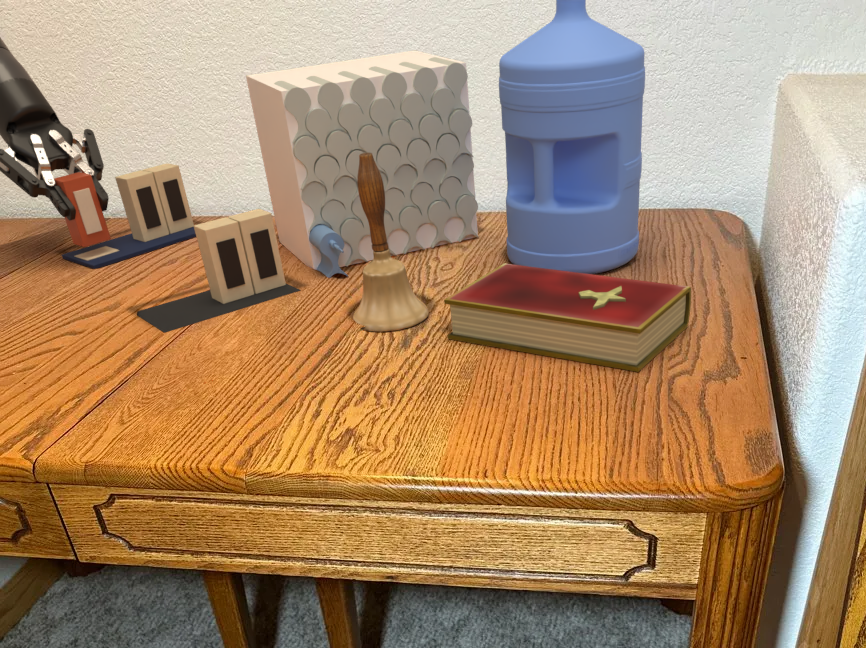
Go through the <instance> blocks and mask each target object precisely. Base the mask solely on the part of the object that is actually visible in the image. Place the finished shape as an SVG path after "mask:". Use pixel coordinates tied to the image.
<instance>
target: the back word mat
mask: <svg viewBox="0 0 866 648" xmlns="http://www.w3.org/2000/svg"><path fill="white" fill-rule="evenodd" d="M114 179H115V181H116V186H117V188H118V192H119V195H120V199H121V201H122V205H123V208H124V212H125V215H126V218H127V221H128V225H129V228H130V232H131V233H128V234H124V235H122V236H118V237H115V238H111V239H110V240H107V241H103V242H100V243H97V244H93V245H90V246H87V247H82V248H79V249H75V250H71V251H69V252H66V253H63V254H61V258H62V259H64V260H66V261H69V262H72V263H75V264H78V265H80V266H83V267H87V268H90V269H93V270H98V269H100V268H104V267H106V266H109V265H113V264H115V263H116V264H117V263H119V262H123V261H126V260H128V259H131V258H134V257H138V256H140V255H144V254H147V253H150V252H153V251H156V250H159V249H160V250H161V249H163V248H166V247H169V246H172V245H176V244H178V243H181V242H185V241H188V240H190V239H193V238H194V239H195V238H197V237H196V233H195V229H194V225H195V223H194V221H193V220H194V219H193V216H192V212H191V207H190V204H189V200H188V196H187V192H186V188H185V185H184V180H183V176H182V174H181V169H180V165H178V164H174V163H168V162H166V163H163V164H159V165H155V166H150V167H147V168H144V169H140V170H136V171H133V172H128V173H125V174H121V175H117V176H114Z"/></svg>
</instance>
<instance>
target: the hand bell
mask: <svg viewBox="0 0 866 648" xmlns="http://www.w3.org/2000/svg"><path fill="white" fill-rule="evenodd" d="M357 184H358V192H359V197H360V201H361V204H362V208H363V210H364V212H365V215H366V217H367V219H368V222H369V227H370V234H371V243H372V249H373V255H374V259H373V260H370V261H369V262H368V263H367V264H366V265H364V267H363V268H362V280H363V281H362V282H363V283H362V296H361V300H360V302H359V306H358V307H357V309H356V310H355V311H354V313H353V314H352V315H353V316H352V320H353V321H354V322H355V323H357V324H358V325H360V326H362V327H360V328H359V329H360V330H364V331H369V332H376V333H377V332H378V333H379V332H381V333H382V332H392V331H394V332H395V331H399V330H404V329H408V328H411V327H415V326H417V325H418V324H421V323H422V322H424V321H425V320H426V319H427V318H428V317H429V313H430V310H429V308H428V307H427V305H426V304H425V303H424V302H423V301H422V300H420V299H419V298H418V296H417V295H416V294H415V292H414V290H413V289H412V285H411V283H410V281H409V277H408V274H407V269H406V266H405V264H404V263H403V262H402V261H401V260H399V259H395V258H393V256H390V251H389V248H388V243H387V237H386V232H385V226H384V211H385V191H384V185H383V180H382V177H381V174H380V171H379V169H378V167H377V165H376V163H375V161H374V158H373V155H372V153H362V154H360V155H359V169H358V178H357Z"/></svg>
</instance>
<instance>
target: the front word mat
mask: <svg viewBox="0 0 866 648" xmlns="http://www.w3.org/2000/svg"><path fill="white" fill-rule="evenodd" d="M274 224H275V223H274V219H273V215H272V213H271V212H270V211H267V210H264V209H261V208H256V209H252V210H249V211H244V212H241V213H237V214H236V213H235V214H232V215H229V216H228V217H226V216H225V217H221V218H217V219H214V220H210V221H205V222H202V223H197V224H194V229H195V233H196V237H195V238H196V240H197V245H198V249H199V252H200V256H201V260H202V264H203V267H204V272H205V275H206V280H207V284H208V287H209V290H205V291H202V292H199V293H195V294H191V295H189V296H188V295H187V296H185V297H181V298H178V299H175V300H171V301H167V302H163V303H161V304H158V305H155V306H150V307H148V308H144V309H141V310H137V311H136V316H137V317H138V318H140V319H142V320H144V321H145V322H147V324H150V325H152V326H153V327H154V328H156V329H158V330H159V331H160V332H162V333H164V334H166V333H169V332H171V331H175V330H178V329H182V328H185V327H188V326H191V325H194V324H198V323H201V322H205V321H207V320H211V319H215V318H217V317H220V316H223V315H226V314H230V313H234V312H236V311H239V310H243V309H246V308H249V307H253V306H255V305H259V304H262V303H265V302H269V301H272V300H275V299H278V298H281V297H285V296H288V295H291V294H294V293H298V292H300V291H301V289H299V288H297V287H295V286H293V285H291V284H289V283H287V282H286V278H285V273H284V268H283V262H282V258H281V253H280V250H279V248H280V247H279V244H278V239H277V234H276V230H275V225H274Z"/></svg>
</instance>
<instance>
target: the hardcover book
mask: <svg viewBox="0 0 866 648" xmlns="http://www.w3.org/2000/svg"><path fill="white" fill-rule="evenodd" d="M443 302H444V303H443V304H444V305H449V309H450V319H451V330H452V331H451V332H449V333H448V334H447V339H448V340H453V341H459V342H465V343H470V344H476V345H480V346H481V345H482V346H487V347H494V348H498V349H499V348H500V349H505V350H512V351H517V352H522V353H526V354H527V353H528V354H534V355H539V356H544V357H545V356H546V357H551V358H557V359H563V360H567V361H574V362H579V363H584V364H585V363H586V364H591V365H597V366H603V367H608V368H614V369H620V370H625V371H631V372H635V373H636V372H637V373H639V372H640V371H641V370H643V368H644V367H646V366H647V365H648V364H649V363H650V362H651V361H652V360H653V359H655V357H657V356H658V355H659V354H660V353H661V352H662V351H663V350H664V349H666V348H667V346H669V345H670V344H671V343H672V342H673V341H674V340H675V339H676V338H677V337H679V336H680V335H681V334H682V333H683V332H684V331H686V329H687V328H689V327H688V326H689V322H690V316H691V306H692V287H691V286H688V285H680V284H671V283H664V282H656V281H650V280H649V281H648V280H640V279H632V278H624V277H617V276H607V275H600V274H585V273H577V272H569V271H561V270H553V269H545V268H537V267H529V266H521V265H513V264H512V263H505V262H504V263H502V264H501V265H499V266H497V267H495V268H494V269H492V270H490V271H489V272H487V273H486V274H484V275H483V276H480V277H479V278H478V279H476V280H474V281H472V282H470V283H469V284H468V285H466V286H465V287H462V288H461V289H459V290H457V291H456V292H454V293H453V294H451V295H449V296H447V297H446V298H444V299H443Z"/></svg>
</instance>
